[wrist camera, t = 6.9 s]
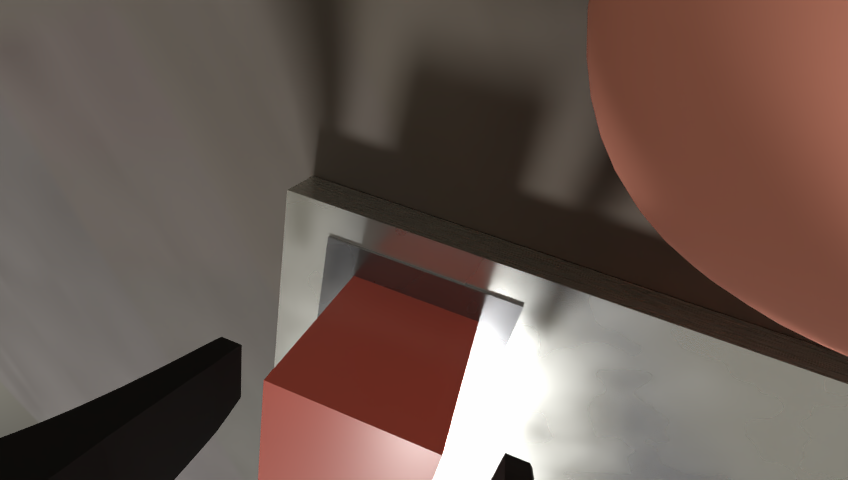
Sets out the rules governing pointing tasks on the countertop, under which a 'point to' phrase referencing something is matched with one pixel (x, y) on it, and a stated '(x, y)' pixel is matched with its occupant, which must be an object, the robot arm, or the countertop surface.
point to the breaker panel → (575, 355)
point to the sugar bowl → (735, 143)
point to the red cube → (365, 390)
